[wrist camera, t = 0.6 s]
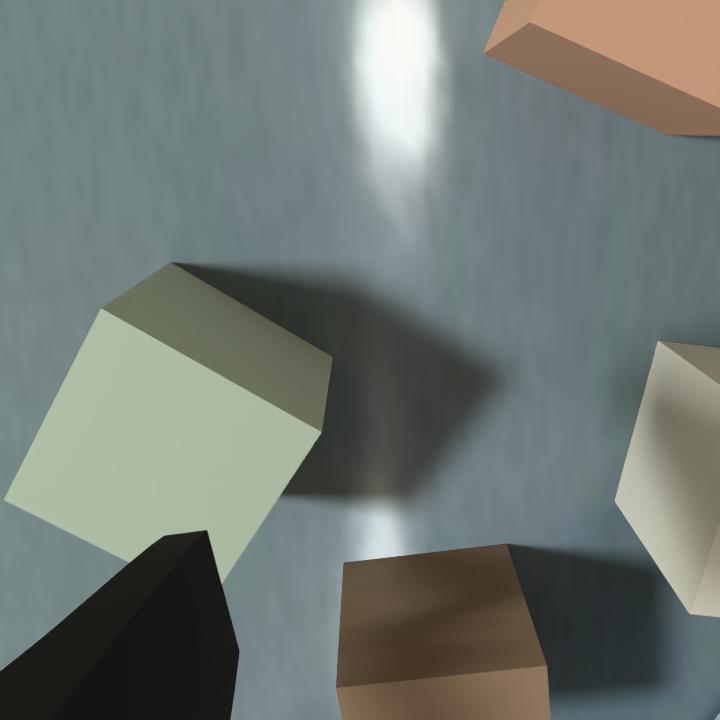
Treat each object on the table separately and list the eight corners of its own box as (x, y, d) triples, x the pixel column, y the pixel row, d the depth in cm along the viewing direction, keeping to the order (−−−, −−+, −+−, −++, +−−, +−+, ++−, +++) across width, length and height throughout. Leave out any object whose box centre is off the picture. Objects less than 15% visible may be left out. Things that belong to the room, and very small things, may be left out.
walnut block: (505, 542, 21) (546, 665, 16) (517, 672, 22) (558, 819, 17) (343, 561, 21) (336, 687, 16) (366, 687, 22) (366, 837, 18)
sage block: (332, 356, 19) (321, 432, 14) (246, 491, 20) (209, 602, 15) (171, 261, 18) (101, 308, 13) (93, 409, 19) (4, 499, 15)
